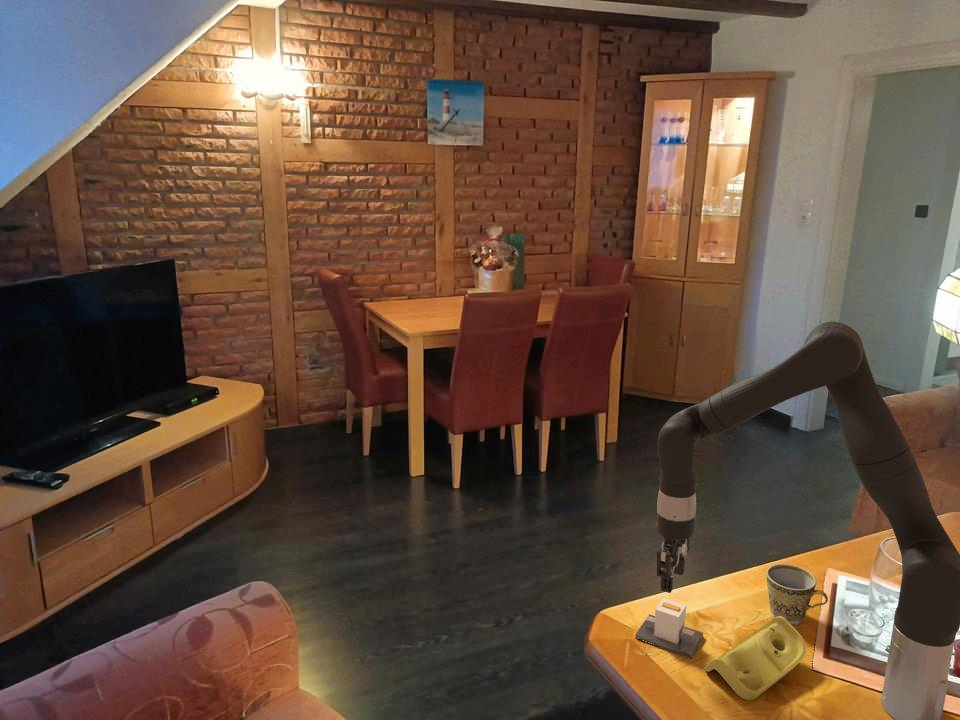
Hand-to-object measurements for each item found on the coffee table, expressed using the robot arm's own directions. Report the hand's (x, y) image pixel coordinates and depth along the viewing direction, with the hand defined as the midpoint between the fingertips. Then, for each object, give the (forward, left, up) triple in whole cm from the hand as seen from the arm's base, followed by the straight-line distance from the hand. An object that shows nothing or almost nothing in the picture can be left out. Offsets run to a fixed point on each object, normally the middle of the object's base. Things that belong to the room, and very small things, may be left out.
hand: (672, 581), depth 145 cm
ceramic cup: (-21, -20, -14) cm, 32 cm away
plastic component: (-18, +1, -14) cm, 23 cm away
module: (0, 0, -13) cm, 13 cm away
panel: (0, 0, -14) cm, 14 cm away
